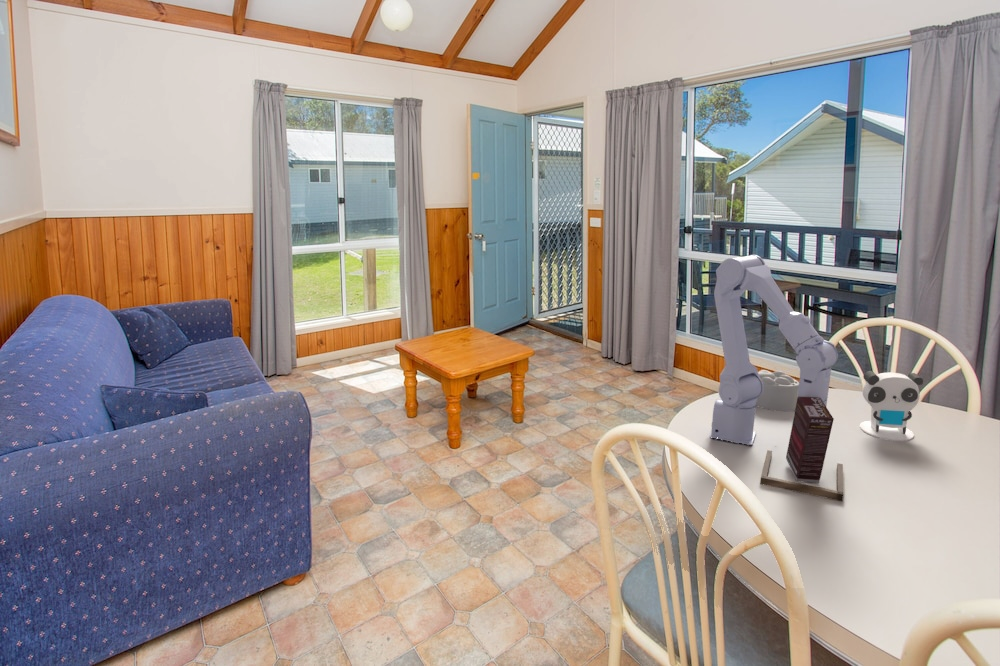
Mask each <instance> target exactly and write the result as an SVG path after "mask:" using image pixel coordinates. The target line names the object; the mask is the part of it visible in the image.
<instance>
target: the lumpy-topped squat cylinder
mask: <svg viewBox="0 0 1000 666" xmlns="http://www.w3.org/2000/svg"><path fill="white" fill-rule="evenodd" d="M758 375H759V377H760V378H761V380H762V382H763V385H764V390H763V393H762V394H761V395H760V396H759V397H757V402H756V407H757V406H759V407H758V408H761V407H763V408H762V409H764V408H766V409H765V410H768V409H770V410H769V411H775V410H776V411H775V412H793V411H794V412H795V408H796V403H797V396H798V388H799V380H796V378H793V377H792V376H791V375H789V374H786V373H785V372H784V371H782V370H775V371H773V372H772V371H769V370H767V369H760V370H759V371H758Z"/></svg>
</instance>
